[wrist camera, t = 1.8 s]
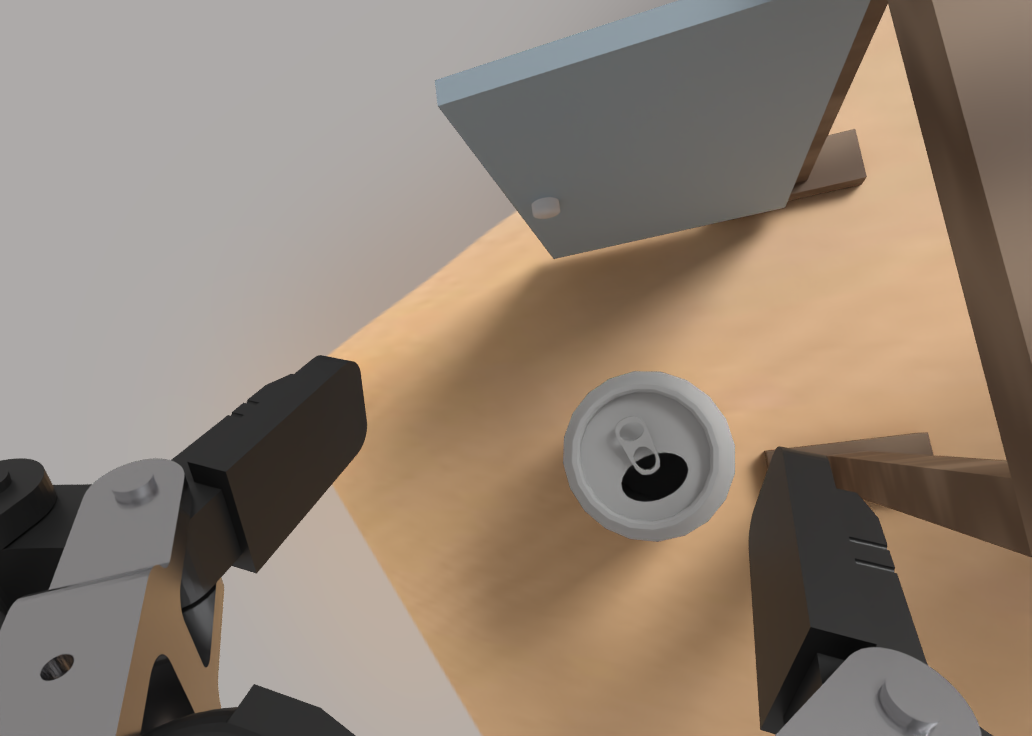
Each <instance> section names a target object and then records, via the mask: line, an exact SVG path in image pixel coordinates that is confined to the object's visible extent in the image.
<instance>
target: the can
mask: <svg viewBox="0 0 1032 736" xmlns="http://www.w3.org/2000/svg"><path fill="white" fill-rule="evenodd" d="M563 464H564V468H565V471H566V475H567V479H568V482H569V486H570V489H571V490H572V492H573V493H574V495H575V497H576V498H577V500H578V501H579V503H580V504H581V506H582V508H583V509H584V511H586V512H587V513H588V514H589V515H590V516H591V517H593V518H594V519H595V520H596V521H597V522H598V523H600V524H601V525H602V526H603V527H604V528H606V529H608V530H611V531H613V532H615V533H617V534H620V535H622V536H624V537H627V538H629V539H636V540H646V541H656V542H658V541H663V540H667V539H672V538H676V537H681V536H685V535H686V534H688V533H690V532H691V531H693V530H695V529H696V528H698V527H699V526H701V525H703V524H704V523H706V522H708V521H709V519H710V518H711V517H712V516H713V515H714V513H715V512H716V511H717V510H718V508H719V507H720V506H721V505H722V503H723V502H724V501H725V500H726V497H727V494H728V491H729V488H730V486H731V483H732V480H733V477H734V474H735V444H734V441H733V438H732V435H731V432H730V429H729V426H728V423H727V420H726V418H725V417H724V416H723V414H722V413H721V412H720V410H719V409H718V408H717V406H716V405H715V404H714V402H713V401H712V400H711V398H710V397H709V396H708V395H706V394H705V393H704V392H702V391H701V390H699V389H698V388H697V387H695V386H694V385H693V384H691V383H690V382H688V381H687V380H684V379H681V378H678V377H675V376H672V375H669V374H666V373H663V372H641V371H634V372H631V373H627V374H624V375H621V376H617V377H614V378H611V379H608V380H607V381H605V382H604V383H603V384H601V385H600V386H598V387H597V388H595V389H594V390H592V391H591V392H589V393H588V394H587V396H586V397H585V398H584V399H583V401H582V402H581V403H580V405H579V406H578V407H577V409H576V410H575V411H574V412H573V414H572V417H571V420H570V422H569V425H568V428H567V431H566V434H565V436H564V455H563Z"/></svg>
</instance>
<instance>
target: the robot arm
mask: <svg viewBox="0 0 1032 736" xmlns="http://www.w3.org/2000/svg"><path fill="white" fill-rule="evenodd" d="M366 432H367V419H366V411H365V404H364V396H363V388H362V380H361V372H360V369H359V366H358V365H357V364H356V363H355V362H353V361H348V360H343V359H337V358H332V357H327V356H322V355H320V356H316V357H315V358H313V359H312V360H311V361H310V362H308V363H307V364H306V365H305V366H303V367H302V368H301V369H300V370H299V371H298V372H296V373H295V374H290V375H288V376H285V377H283V378H281V379H279V380H276V381H274V382H272V383H269V384H267V385H265V386H264V387H263V388H262V389H260V390H259V391H258V392H257V393H255V394H254V395H253V396H252V397H251V398H249V399H248V400H247V403H243V404H241V405H240V406H239V407H238V408H236V410H234V411H233V412H232V415H231V416H229V415H228V416H226V417H225V418H224V419H223V420H221V421H220V422H219V423H218V424H216V425H215V426H214V427H212V428H211V429H210V430H209V431H207V432H206V433H205V434H204V435H202V436H201V437H200V438H199V439H197V440H196V441H195V442H194V443H192V444H191V445H190V446H188V447H187V448H186V449H185V450H183V452H181V453H180V454H179V455H177V456H176V457H175V458H173V459H172V460H167V459H145V460H140V461H135V462H132V463H129V464H126V465H123V466H121V467H118V468H116V469H114V470H112V471H110V472H108V473H107V474H105V475H103V476H102V477H101V478H99V479H98V480H97V481H95V482H94V483H93V484H90V485H52V483H51V481H50V479H49V477H48V475H47V473H46V471H45V469H44V467H43V466H42V465H41V464H40V463H39V462H37V461H34V460H31V459H8V460H2V461H0V736H355V735H354V734H353V733H351V732H350V731H349V730H348V729H346V728H345V727H344V726H343V725H341V724H340V723H339V722H337V721H336V720H335V719H334V718H333V717H331V716H330V715H329V714H327V713H326V712H325V711H324V710H322V709H321V708H319V707H316V706H314V705H311V704H308V703H305V702H303V701H300V700H297V699H294V698H291V697H289V696H286V695H283V694H280V693H277V692H275V691H272V690H269V689H266V688H263V687H261V686H258V685H255V684H254V685H253V686H252V688H251V689H250V691H249V692H248V694H247V695H246V696H245V698H244V699H243V701H242V702H241V704H240V705H239V706H238V707H233V708H222V709H221V705H220V700H219V692H218V670H219V656H220V640H221V626H222V612H223V598H224V584H223V581H222V578H221V577H222V576H223V575H224V574H225V572H226V571H227V570H228V569H229V568H230V567H231V566H234V567H237V568H241V569H244V570H247V571H250V572H254V573H257V572H258V571H259V570H260V569H261V568H262V566H263V565H264V564H265V563H266V562H267V560H268V559H269V558H270V557H271V556H272V555H273V553H274V552H275V551H276V550H277V549H278V547H279V546H280V545H281V544H282V543H283V541H284V540H285V539H286V538H287V537H288V536H289V534H290V533H291V532H292V531H293V530H294V528H295V527H296V526H297V525H298V524H299V523H300V521H301V520H302V519H303V518H304V517H305V515H306V514H307V513H308V512H309V511H310V509H311V508H312V507H313V506H314V505H315V504H316V502H317V501H318V500H319V499H320V498H321V496H322V495H323V494H324V493H325V492H326V490H327V489H328V488H329V487H330V486H331V485H332V483H333V482H334V481H335V480H336V479H337V477H338V476H339V475H340V474H341V473H342V472H343V470H344V469H345V468H346V467H347V466H348V464H349V463H350V462H351V461H352V460H353V459H354V457H355V456H356V455H357V454H358V452H359V451H360V449H361V447H362V445H363V443H364V440H365V437H366ZM749 561H750V576H751V592H752V607H753V623H754V638H755V654H756V670H757V685H758V701H759V716H760V730H763V731H766V732H770V733H773V734H776V735H775V736H992V735H991V734H989V733H988V732H987V731H985V730H984V729H982V728H981V727H980V726H979V724H978V721H977V719H976V717H975V715H974V713H973V711H972V710H971V708H970V707H969V705H968V704H967V702H966V701H965V699H964V698H963V697H962V696H961V694H960V693H959V692H958V691H957V690H956V689H955V688H954V687H953V686H952V685H951V684H950V683H949V682H948V681H947V680H946V679H945V678H944V677H942V676H941V675H940V674H939V673H938V672H936V671H935V670H934V669H932V668H931V667H929V666H928V664H927V662H926V659H925V656H924V653H923V650H922V647H921V644H920V641H919V638H918V635H917V632H916V629H915V626H914V623H913V620H912V617H911V614H910V611H909V608H908V605H907V602H906V599H905V596H904V593H903V590H902V587H901V584H900V581H899V578H898V575H897V573H894V569H895V566H894V563H893V560H892V557H891V554H890V551H889V550H887V542H886V539H885V536H884V533H883V530H882V527H881V524H880V521H879V518H878V517H877V516H876V515H875V514H874V512H873V511H872V510H871V509H870V508H869V507H868V505H867V504H866V503H865V502H864V501H863V499H862V498H861V497H860V496H859V495H858V494H857V493H856V492H851V491H846V490H841V489H837V488H836V486H835V482H834V478H833V474H832V471H831V467H830V463H829V460H828V458H827V457H826V456H825V455H820V454H815V453H810V452H805V451H800V450H795V449H789V448H784V447H777V448H776V450H775V451H774V453H773V456H772V459H771V462H770V464H769V467H768V470H767V473H766V476H765V479H764V482H763V485H762V488H761V490H760V493H759V496H758V499H757V502H756V505H755V508H754V511H753V514H752V519H751V524H750V530H749Z"/></svg>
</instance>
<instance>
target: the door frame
mask: <svg viewBox="0 0 1032 736" xmlns="http://www.w3.org/2000/svg"><path fill="white" fill-rule="evenodd" d="M887 4H888V5H889V8H890V12H891V16H892V20H893V24H894V28H895V31H896V35H897V39H898V43H899V47H900V51H901V55H902V58H903V62H904V66H905V70H906V74H907V78H908V82H909V85H910V89H911V93H912V97H913V101H914V105H915V109H916V112H917V116H918V120H919V124H920V128H921V132H922V135H923V139H924V143H925V147H926V151H927V155H928V159H929V162H930V166H931V170H932V174H933V178H934V182H935V186H936V189H937V193H938V197H939V201H940V205H941V209H942V212H943V216H944V220H945V224H946V228H947V232H948V236H949V239H950V243H951V247H952V251H953V255H954V259H955V263H956V266H957V270H958V274H959V278H960V282H961V286H962V290H963V293H964V297H965V301H966V305H967V309H968V313H969V316H970V320H971V324H972V328H973V332H974V336H975V340H976V343H977V347H978V351H979V355H980V359H981V363H982V367H983V370H984V374H985V378H986V382H987V386H988V390H989V393H990V397H991V401H992V405H993V409H994V413H995V417H996V420H997V424H998V428H999V432H1000V436H1001V440H1002V444H1003V447H1004V451H1005V455H1006V459H1007V461H1005V460H991V459H976V458H962V457H948V456H933V452H932V448H931V444H930V439H929V435H928V432H927V433H913V434H905V435H896V436H888V437H879V438H871V439H862V440H854V441H845V442H837V443H828V444H819V445H811V446H802V447H794V448H789V449H795V450H800V451H805V452H810V453H815V454H820V455H825V456H826V457H827V458H828V460H829V463H830V467H831V471H832V474H833V478H834V482H835V486H836V488H837V489H841V490H846V491H851V492H856V493H857V494H858V495H859V496H860V497H861V498H862V499H865V500H868V501H871V502H874V503H877V504H880V505H882V506H885V507H888V508H891V509H894V510H897V511H900V512H903V513H906V514H908V515H911V516H914V517H917V518H920V519H923V520H926V521H929V522H931V523H934V524H937V525H940V526H943V527H946V528H949V529H952V530H955V531H957V532H960V533H963V534H966V535H969V536H972V537H975V538H978V539H980V540H983V541H986V542H989V543H992V544H995V545H998V546H1001V547H1004V548H1006V549H1009V550H1012V551H1015V552H1018V553H1021V554H1024V555H1027V556H1029V557H1032V0H870V3H869V5H868V8H867V10H866V12H865V15H864V17H863V20H862V22H861V24H860V27H859V29H858V32H857V34H856V37H855V39H854V41H853V44H852V46H851V49H850V51H849V54H848V56H847V58H846V61H845V63H844V66H843V68H842V71H841V73H840V75H839V78H838V80H837V83H836V85H835V88H834V90H833V92H832V95H831V97H830V100H829V102H828V105H827V107H826V109H825V112H824V114H823V117H822V119H821V121H820V124H819V126H818V129H817V131H816V134H815V136H814V138H813V141H812V143H811V146H810V148H809V151H808V153H807V155H806V158H805V160H804V163H803V165H802V168H801V170H800V172H799V175H798V177H797V180H796V182H795V185H794V187H793V189H792V192H791V194H790V197H789V199H788V201H790V200H794V199H799V198H803V197H808V196H812V195H817V194H821V193H825V192H830V191H834V190H839V189H843V188H848V187H852V186H856V185H861V184H862V183H863V182H864V180H865V179H866V177H867V176H866V172H865V168H864V164H863V160H862V156H861V151H860V147H859V143H858V139H857V135H856V131H855V129H853V130H849V131H845V132H840V133H836V134H832V135H828V134H829V132H830V129H831V127H832V125H833V123H834V121H835V118H836V116H837V114H838V112H839V110H840V107H841V105H842V103H843V101H844V99H845V96H846V94H847V92H848V90H849V88H850V85H851V83H852V81H853V79H854V77H855V74H856V72H857V70H858V68H859V66H860V63H861V61H862V59H863V57H864V55H865V52H866V50H867V48H868V46H869V44H870V41H871V39H872V37H873V35H874V33H875V30H876V28H877V26H878V24H879V22H880V20H881V17H882V15H883V13H884V11H885V9H886V6H887ZM774 451H775V450H768V451H764V452H765V457H766V462H767V468H768V467H769V464H770V462H771V459H772V456H773V453H774Z"/></svg>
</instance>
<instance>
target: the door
mask: <svg viewBox="0 0 1032 736" xmlns="http://www.w3.org/2000/svg"><path fill="white" fill-rule="evenodd" d="M869 3H870V0H678V1H676V2H672V3H669V4H666V5H663V6H660V7H657V8H654V9H651V10H648V11H645V12H642V13H639V14H636V15H633V16H630V17H627V18H623V19H621V20H618V21H615V22H612V23H608V24H605V25H602V26H599V27H596V28H593V29H590V30H587V31H584V32H581V33H578V34H575V35H572V36H569V37H566V38H563V39H560V40H557V41H553V42H551V43H547V44H545V45H542V46H538V47H535V48H532V49H529V50H526V51H523V52H520V53H517V54H514V55H511V56H508V57H505V58H502V59H499V60H496V61H493V62H490V63H487V64H484V65H480V66H478V67H474V68H472V69H469V70H465V71H462V72H459V73H456V74H453V75H450V76H447V77H444V78H441V79H438V80H435V85H436V94H437V103H438V107H439V108H440V110H441V111H442V112H443V113H444V115H445V116H446V117H447V119H448V120H449V121H450V123H451V124H452V125H453V127H454V128H455V129H456V130H457V132H458V133H459V135H460V136H461V137H462V138H463V140H464V141H465V142H466V144H467V145H468V146H469V148H470V149H471V150H472V152H473V153H474V154H475V156H476V157H477V158H478V160H479V161H480V162H481V164H482V165H483V166H484V168H485V169H486V170H487V172H488V173H489V174H490V176H491V177H492V178H493V180H494V181H495V182H496V183H497V185H498V186H499V187H500V189H501V190H502V191H503V193H504V194H505V195H506V197H507V198H508V199H509V201H510V202H511V203H512V204H513V206H514V207H515V208H516V210H517V211H518V213H519V214H520V215H521V216H522V218H523V219H524V220H525V222H526V223H527V224H528V226H529V227H530V228H531V230H532V231H533V232H534V234H535V235H536V236H537V238H538V239H539V240H540V242H541V243H542V244H543V246H544V247H545V248H546V249H547V251H548V252H549V253H550V255H551V256H552V257H553V259H556V258H561V257H565V256H570V255H574V254H579V253H583V252H588V251H592V250H597V249H601V248H606V247H610V246H615V245H619V244H624V243H628V242H633V241H637V240H642V239H646V238H651V237H655V236H660V235H664V234H669V233H673V232H678V231H682V230H687V229H691V228H696V227H700V226H705V225H709V224H714V223H718V222H723V221H727V220H732V219H736V218H741V217H745V216H750V215H754V214H759V213H763V212H767V211H772V210H776V209H781V208H785V206H786V204H787V202H788V199H789V197H790V194H791V192H792V189H793V187H794V185H795V182H796V180H797V177H798V175H799V172H800V170H801V168H802V165H803V163H804V160H805V158H806V155H807V153H808V151H809V148H810V146H811V143H812V141H813V138H814V136H815V134H816V131H817V129H818V126H819V124H820V121H821V119H822V117H823V114H824V112H825V109H826V107H827V105H828V102H829V100H830V97H831V95H832V92H833V90H834V88H835V85H836V83H837V80H838V78H839V75H840V73H841V71H842V68H843V66H844V63H845V61H846V58H847V56H848V54H849V51H850V49H851V46H852V44H853V41H854V39H855V37H856V34H857V32H858V29H859V27H860V24H861V22H862V20H863V17H864V15H865V12H866V10H867V8H868V5H869Z"/></svg>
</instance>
